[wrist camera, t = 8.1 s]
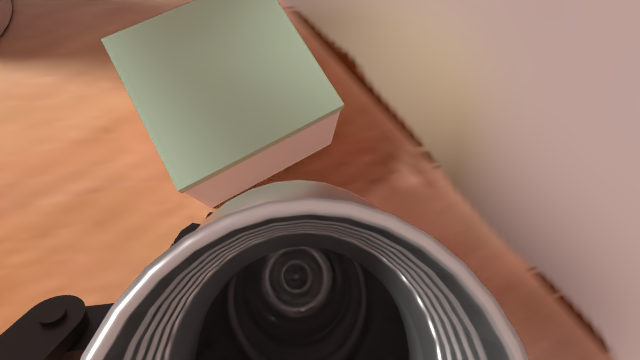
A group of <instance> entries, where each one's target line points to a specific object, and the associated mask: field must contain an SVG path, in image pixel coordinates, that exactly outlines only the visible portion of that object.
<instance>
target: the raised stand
mask: <svg viewBox="0 0 640 360" xmlns="http://www.w3.org/2000/svg"><path fill="white" fill-rule="evenodd" d="M101 41H102V43H103V45H104V47H105V49H106V51H107V53H108V55H109V56H110V58H111V60H112V62H113V64H114V66H115V68H116V70H117V72H118V74H119V76H120V78H121V80H122V82H123V84H124V86H125V88H126V90H127V92H128V94H129V96H130V98H131V100H132V102H133V104H134V106H135V108H136V110H137V112H138V114H139V116H140V118H141V120H142V121H143V123H144V125H145V127H146V129H147V131H148V133H149V135H150V137H151V139H152V141H153V143H154V145H155V147H156V149H157V151H158V153H159V155H160V157H161V159H162V161H163V163H164V165H165V167H166V169H167V171H168V173H169V175H170V177H171V179H172V181H173V183H174V185H175V186H176V188H177V190H178V191H179V192H181V193H184V192H185V193H187V194H188V195H190V196H192V197H194V198H195V199H197V200H199V201H200V202H202V203H204V204H206V205H207V206H209V207H211V208H213V207H215V206H217V205H219V204H220V203H222V202H224V201H226V200H228V199H230V198H232V197H233V196H235V195H237V194H239V193H241V192H243V191H245V190H246V189H248V188H250V187H252V186H254V185H256V184H257V183H259V182H261V181H263V180H265V179H267V178H269V177H270V176H272V175H274V174H276V173H278V172H280V171H282V170H283V169H285V168H287V167H289V166H291V165H293V164H295V163H296V162H298V161H300V160H302V159H304V158H306V157H308V156H309V155H311V154H313V153H315V152H317V151H319V150H321V149H322V148H324V147H326V146H328V145H330V144H331V142H332V138H333V135H334V131H335V128H336V124H337V121H338V118H339V114H340V111H341V110H343V107H344V103H343V101H342V100H341V98H340V97H339V95H338V94H337V92H336V91H335V89H334V88H333V86H332V84H331V83H330V81H329V80H328V78H327V77H326V75H325V74H324V72H323V70H322V69H321V67H320V66H319V64H318V63H317V61H316V60H315V58H314V56H313V55H312V53H311V52H310V50H309V49H308V47H307V46H306V44H305V43H304V41H303V39H302V38H301V36H300V35H299V33H298V32H297V30H296V29H295V27H294V25H293V24H292V22H291V21H290V19H289V18H288V16H287V15H286V13H285V12H284V10H283V8H282V7H281V5H280V4H279V2H278V1H277V0H194V1H192V2H189V3H187V4H184V5H182V6H179V7H177V8H175V9H172V10H170V11H167V12H165V13H163V14H160V15H158V16H155V17H153V18H150V19H148V20H146V21H143V22H141V23H138V24H136V25H133V26H131V27H129V28H126V29H124V30H121V31H119V32H116V33H114V34H112V35H109V36H107V37H104V38H102V39H101Z"/></svg>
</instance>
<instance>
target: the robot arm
mask: <svg viewBox="0 0 640 360" xmlns="http://www.w3.org/2000/svg"><path fill="white" fill-rule="evenodd" d="M11 13H12V3H11V0H0V35H1V34H2V33H3V31H4V30H5V28H6V27H7V25H8V23H9V20H10V18H11ZM212 213H213V212H210V213H209V214H208V215H207V217H209V216H210V215H211V214H212ZM207 217H206V218H207ZM200 225H201V224H196V223H192V224H190V225H189V226H188V227H186V228H185V229H183V230H182V231H181V232H180V233H179V235H178V236H177V238H176V239H175V241H174V243H173V244H172V245H171V247H172V246H173V245H174V244H176V243H177V242H178V241H179V240H180V239H182V238H183V237H184V236H186V235H188V234H190V233H192V232H193V231H195V230H197V228H198V227H199V226H200ZM171 247H170V248H171ZM113 305H114V303H111V304H103V305H93V306H85V304H84V302H83V301H82V300H81V299H80V298H78V297H76V296H72V295H61V296H56V297H52V298H49V299H47V300H44V301H42V302H40V303H39V304H37V305H36V306H34V307H33V308H31V309H30V310H29V311H28V312H27V313H26V314H24V315H23V316H22V317H21V318H20V319H19V320H17V321H16V322H15V323H14V324H13V325H12V326H10V327H9V328H8V329H7V330H6V331H5V332H3V333H2V334H1V335H0V360H80V359H81V356H82V354H83V353H84V351H85V349H86V348H87V346H88V344H89V343H90V341H91V340H92V338H93V336H94V335H95V333H96V331H97V330H98V328H99V326H100V325H101V323H102V322H103V320H104V318H105V317H106V315H107V313H108V312H109V310H110V308H111V307H112V306H113Z"/></svg>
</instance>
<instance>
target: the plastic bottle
mask: <svg viewBox="0 0 640 360" xmlns="http://www.w3.org/2000/svg"><path fill="white" fill-rule="evenodd" d="M80 360H529V358H528V356H527V353H526V351H525V348H524V346H523V344H522V341H521V339H520V338H519V336H518V334H517V333H516V331H515V329H514V328H513V326H512V325H511V323H510V321H509V320H508V318H507V316H506V315H505V313H504V312H503V310H502V308H501V307H500V305H499V303H498V302H497V300H496V299H495V297H494V296H493V295H492V294H491V293H490V291H489V290H488V289H487V288H486V287H485V286H484V285H483V283H482V282H481V281H480V280H479V279H478V278H477V276H476V275H475V274H474V273H473V272H472V271H471V270H470V268H469V267H468V266H467V265H466V264H465V263H464V262H463V261H462V260H461V259H459V258H458V257H457V256H456V255H454V254H453V253H452V252H451V251H449V250H448V249H447V248H446V247H445V246H443V245H442V244H441V243H440V242H438V241H437V240H436V239H435V238H433V237H432V236H431V235H430V234H428V233H426V232H424V231H422V230H421V229H419V228H417V227H415V226H413V225H411V224H409V223H408V222H406V221H404V220H402V219H400V218H398V217H396V216H395V215H393V214H390V213H387V212H384V211H381V210H380V209H378V208H377V207H376V206H375V205H373V204H372V203H371V202H370V201H368V200H366V199H364V198H362V197H360V196H358V195H357V194H355V193H353V192H351V191H349V190H347V189H344V188H341V187H337V186H334V185H331V184H328V183H324V182H316V181H306V180H292V181H281V182H273V183H270V184H267V185H263V186H260V187H257V188H253V189H250V190H248V191H246V192H244V193H243V194H241V195H239V196H237V197H235V198H233V199H231V200H229V201H227V202H226V203H225V204H224V205H222V206H221V207H220V208H219V209H217V210H216V211H215V212H214V213H212V214H211V215H210V216H209V217H207V218H206V219H205V220H204V221H203V223H202V224H201V225H200V226H199V227H198V228H197V230H195V231H193V232H192V233H190V234H188V235H186V236H184V237H183V238H182V239H180V240H179V241H178V242H177V243H176V244H174V245H173V246H172V247H171V248H169V249H168V250H167V251H166V252H164V253H163V254H162V255H161V256H159V257H158V258H157V259H156V260H154V261H153V262H152V263H151V264H149V265H148V266H147V267H146V268H145V269H144V270H143V271H142V272H141V274H140V275H139V276H138V277H137V278H136V279H135V280H134V282H133V283H132V284H131V285H130V286H129V287H128V288H127V290H126V291H125V292H124V293H123V294H122V295H121V296H120V298H119V299H118V300H117V301H116V302H115V303H114V305H113V306H112V307H111V308H110V310H109V312H108V313H107V315H106V317H105V318H104V320H103V322H102V323H101V325H100V326H99V328H98V330H97V331H96V333H95V335H94V336H93V338H92V340H91V341H90V343H89V344H88V346H87V348H86V349H85V351H84V353H83V354H82V356H81V359H80Z"/></svg>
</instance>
